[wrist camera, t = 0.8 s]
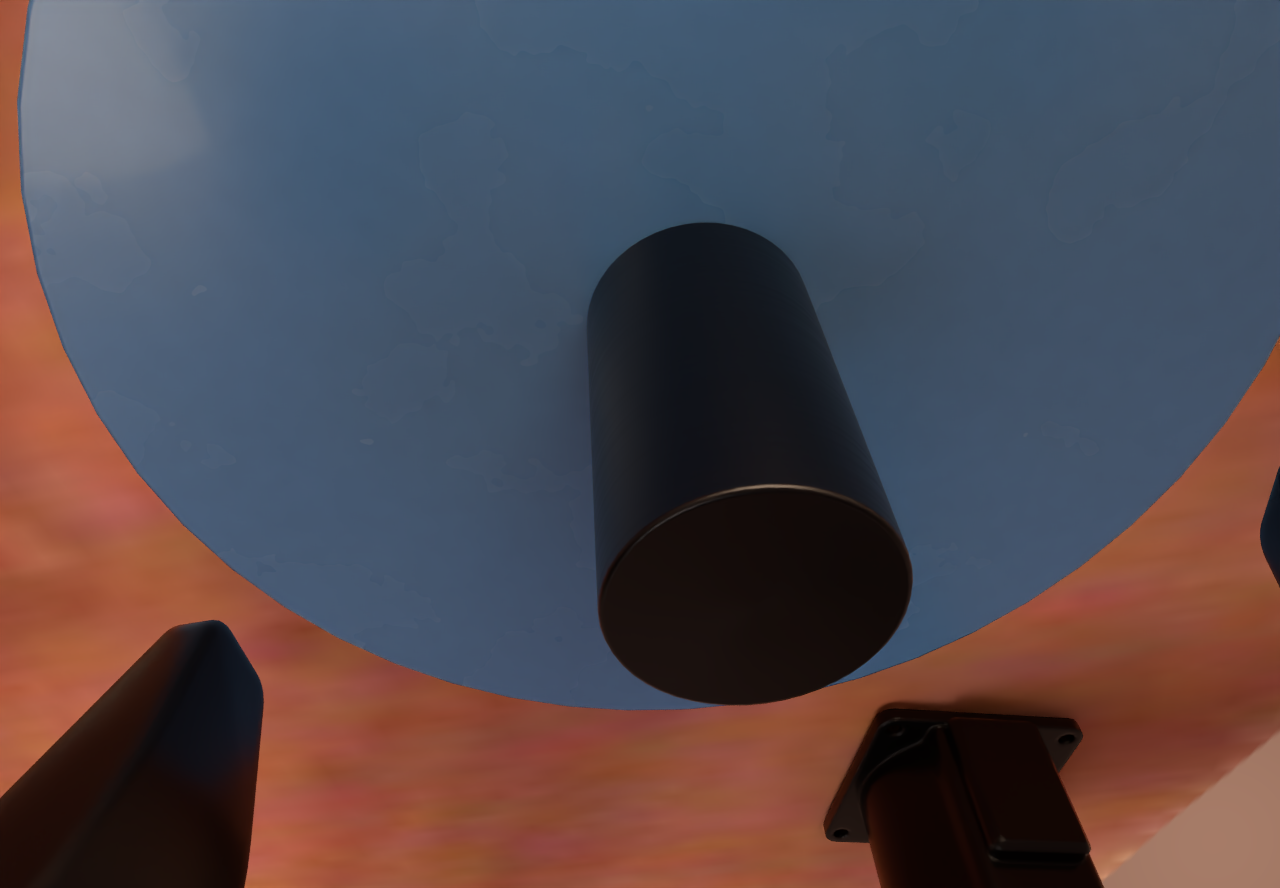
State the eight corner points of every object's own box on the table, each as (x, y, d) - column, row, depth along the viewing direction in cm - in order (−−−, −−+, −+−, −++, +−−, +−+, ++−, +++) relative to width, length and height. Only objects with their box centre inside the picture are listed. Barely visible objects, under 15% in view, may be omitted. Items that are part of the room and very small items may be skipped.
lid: (1230, 536, 16) (1485, 870, 12) (391, 729, 18) (334, 1084, 14) (1407, -832, 7) (2696, -1579, 3) (-278, -195, 9) (-1089, -54, 5)
